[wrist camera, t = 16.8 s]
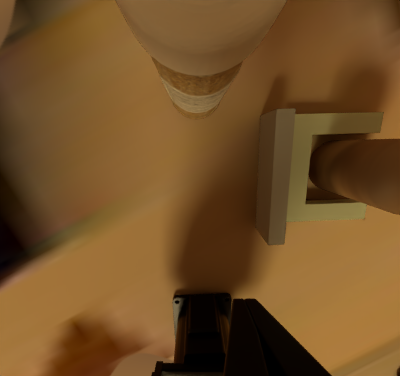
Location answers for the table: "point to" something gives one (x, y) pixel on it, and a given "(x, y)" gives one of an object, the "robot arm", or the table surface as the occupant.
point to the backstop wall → (274, 174)
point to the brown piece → (360, 171)
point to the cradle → (301, 159)
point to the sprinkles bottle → (199, 44)
